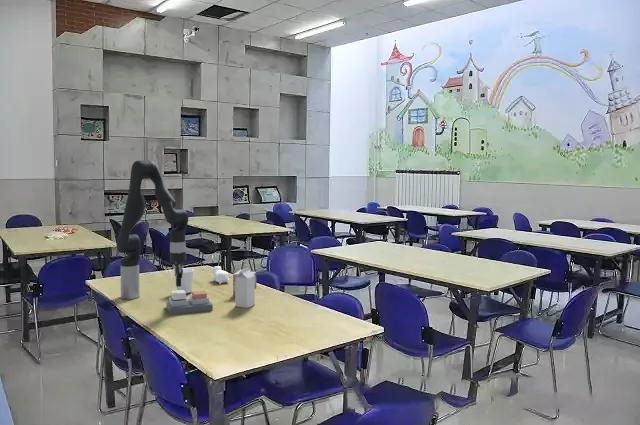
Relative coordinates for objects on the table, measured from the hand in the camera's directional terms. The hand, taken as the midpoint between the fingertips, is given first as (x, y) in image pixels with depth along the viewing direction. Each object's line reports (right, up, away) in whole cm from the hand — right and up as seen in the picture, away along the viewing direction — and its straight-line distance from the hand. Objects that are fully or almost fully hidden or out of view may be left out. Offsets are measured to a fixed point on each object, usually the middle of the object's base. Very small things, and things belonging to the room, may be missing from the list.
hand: (178, 286), depth 253 cm
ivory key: (0, -6, +1) cm, 6 cm away
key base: (+4, -12, +3) cm, 13 cm away
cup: (-6, -9, +34) cm, 35 cm away
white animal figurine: (+8, -6, +62) cm, 63 cm away
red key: (+9, -7, +5) cm, 12 cm away
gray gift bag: (+27, -9, +39) cm, 48 cm away
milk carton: (+31, -12, +10) cm, 34 cm away
